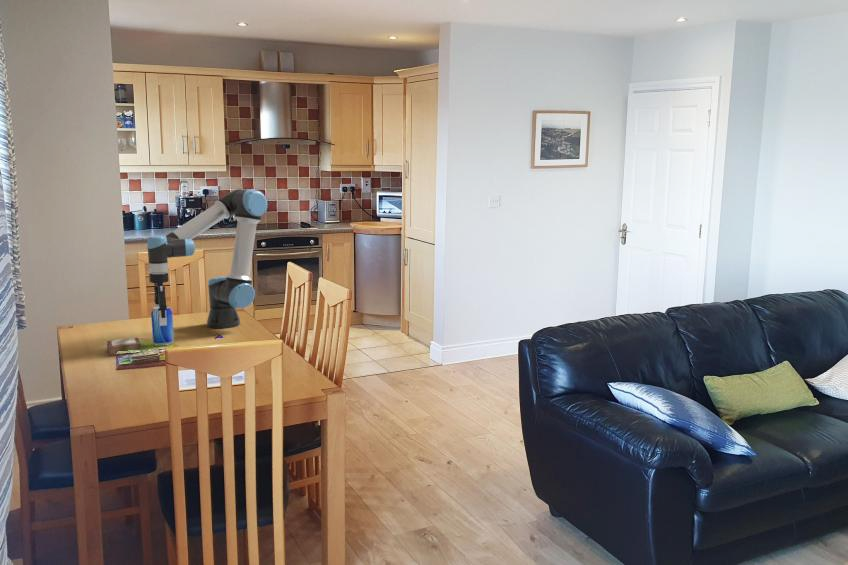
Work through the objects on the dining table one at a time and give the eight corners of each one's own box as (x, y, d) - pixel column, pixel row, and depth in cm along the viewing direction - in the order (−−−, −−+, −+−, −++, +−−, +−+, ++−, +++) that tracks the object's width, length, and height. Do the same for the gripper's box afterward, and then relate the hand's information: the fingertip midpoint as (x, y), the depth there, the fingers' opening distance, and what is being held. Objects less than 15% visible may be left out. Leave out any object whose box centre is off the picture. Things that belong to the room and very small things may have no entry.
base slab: (138, 345, 306) (137, 336, 305) (141, 352, 295) (140, 342, 295) (107, 349, 301) (106, 339, 300) (109, 356, 290) (108, 346, 289)
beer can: (167, 346, 304) (164, 309, 301) (149, 345, 305) (146, 308, 303) (178, 341, 312) (175, 305, 309) (160, 341, 314) (157, 304, 311)
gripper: (145, 269, 313) (148, 317, 316) (152, 277, 291) (155, 329, 294) (164, 268, 316) (166, 315, 319) (172, 276, 294) (174, 327, 297)
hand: (161, 322), depth 307 cm, fingers open, 13 cm apart
